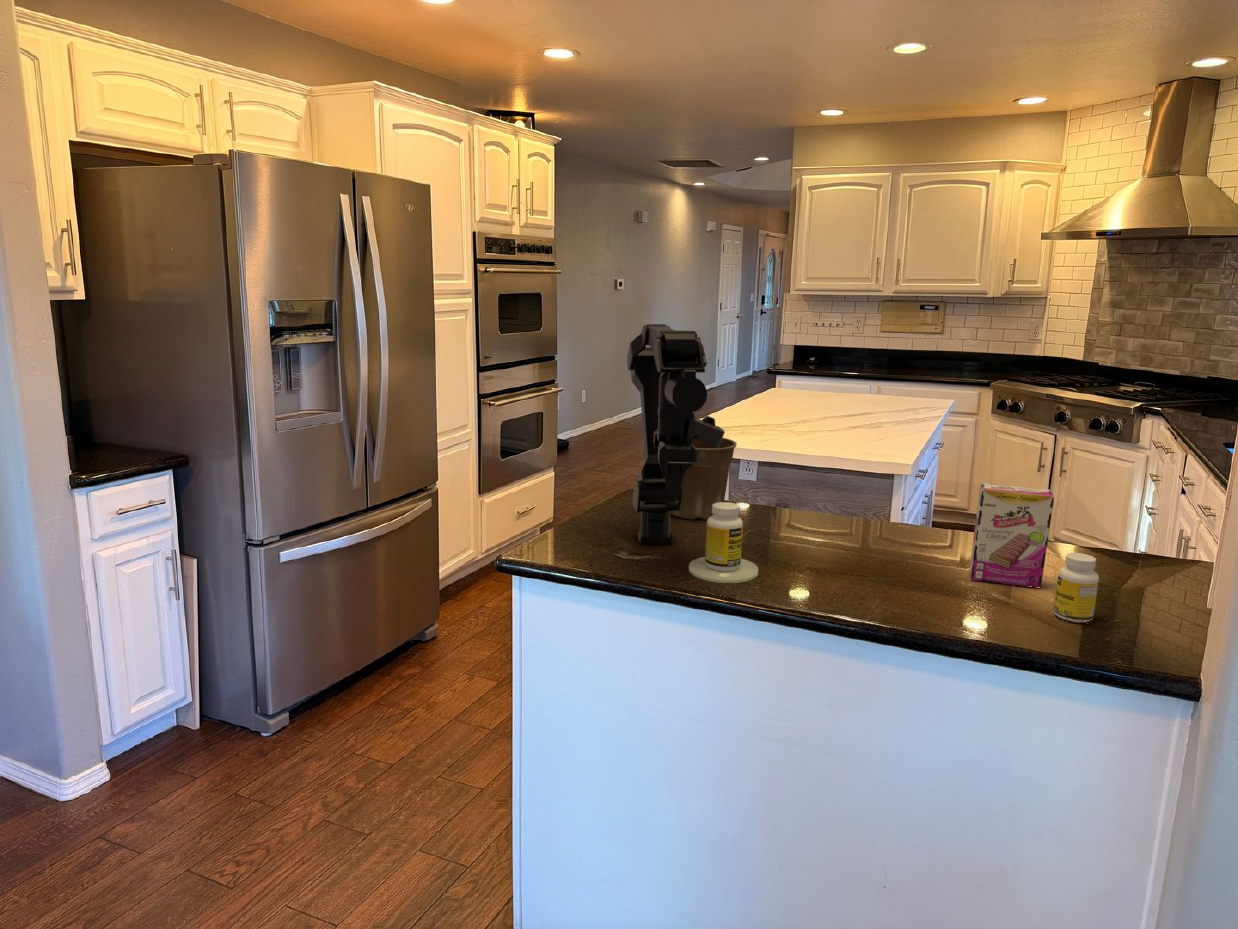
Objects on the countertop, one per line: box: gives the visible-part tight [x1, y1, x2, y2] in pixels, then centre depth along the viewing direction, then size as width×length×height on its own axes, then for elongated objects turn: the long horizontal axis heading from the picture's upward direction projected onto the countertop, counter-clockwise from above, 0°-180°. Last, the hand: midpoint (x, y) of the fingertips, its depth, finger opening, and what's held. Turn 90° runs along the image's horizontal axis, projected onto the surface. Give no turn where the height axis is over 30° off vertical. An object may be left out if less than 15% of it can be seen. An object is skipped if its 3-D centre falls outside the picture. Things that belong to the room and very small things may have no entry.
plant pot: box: [670, 437, 737, 521], centre depth 181 cm, size 16×16×16 cm
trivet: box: [688, 556, 759, 584], centre depth 145 cm, size 12×12×1 cm
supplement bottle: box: [1053, 552, 1100, 622], centre depth 126 cm, size 5×5×10 cm
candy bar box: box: [969, 482, 1055, 588], centre depth 141 cm, size 11×5×16 cm, turn 71°
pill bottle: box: [704, 501, 744, 572], centre depth 144 cm, size 6×6×11 cm
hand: (672, 492), depth 146 cm, fingers open, 9 cm apart
